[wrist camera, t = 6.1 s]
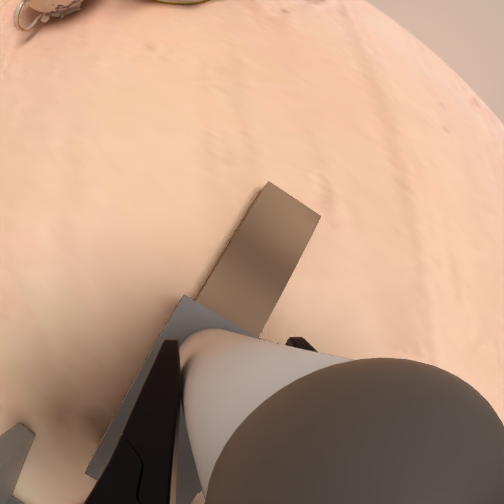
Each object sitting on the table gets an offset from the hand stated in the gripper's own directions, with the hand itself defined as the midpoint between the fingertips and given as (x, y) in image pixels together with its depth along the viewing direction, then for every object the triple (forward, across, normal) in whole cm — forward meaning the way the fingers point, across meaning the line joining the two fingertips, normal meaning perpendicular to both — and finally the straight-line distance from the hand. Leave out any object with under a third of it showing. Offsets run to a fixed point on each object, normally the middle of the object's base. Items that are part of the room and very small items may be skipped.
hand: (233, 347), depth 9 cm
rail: (+8, -2, +3) cm, 9 cm away
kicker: (+3, +1, +8) cm, 9 cm away
